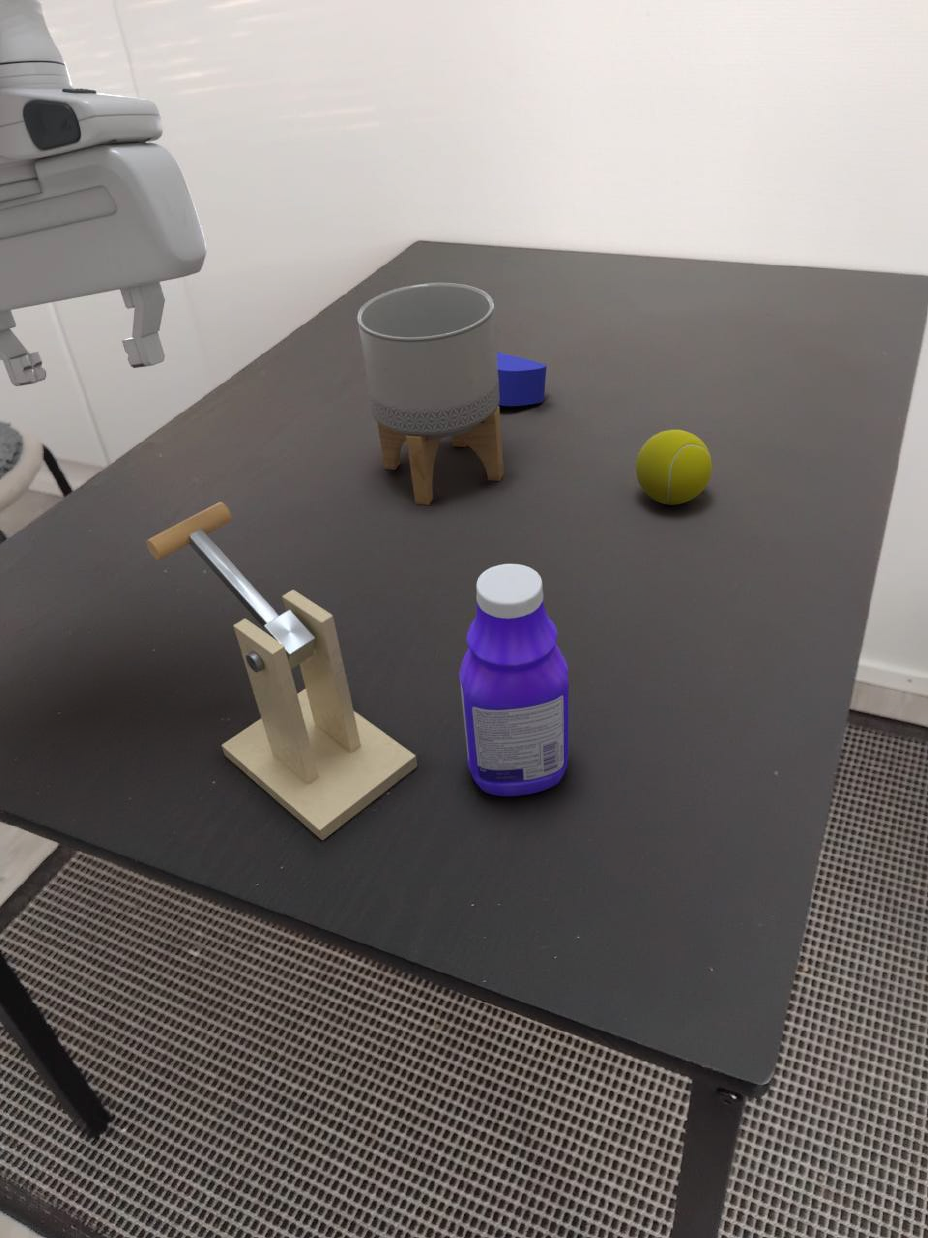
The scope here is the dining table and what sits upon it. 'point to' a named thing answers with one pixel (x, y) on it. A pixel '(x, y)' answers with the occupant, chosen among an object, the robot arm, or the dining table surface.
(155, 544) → the lever
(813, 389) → the dining table surface
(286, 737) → the bracket
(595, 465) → the dining table surface
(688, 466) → the tennis ball
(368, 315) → the planter
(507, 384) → the toy
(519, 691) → the bottle
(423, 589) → the dining table surface
